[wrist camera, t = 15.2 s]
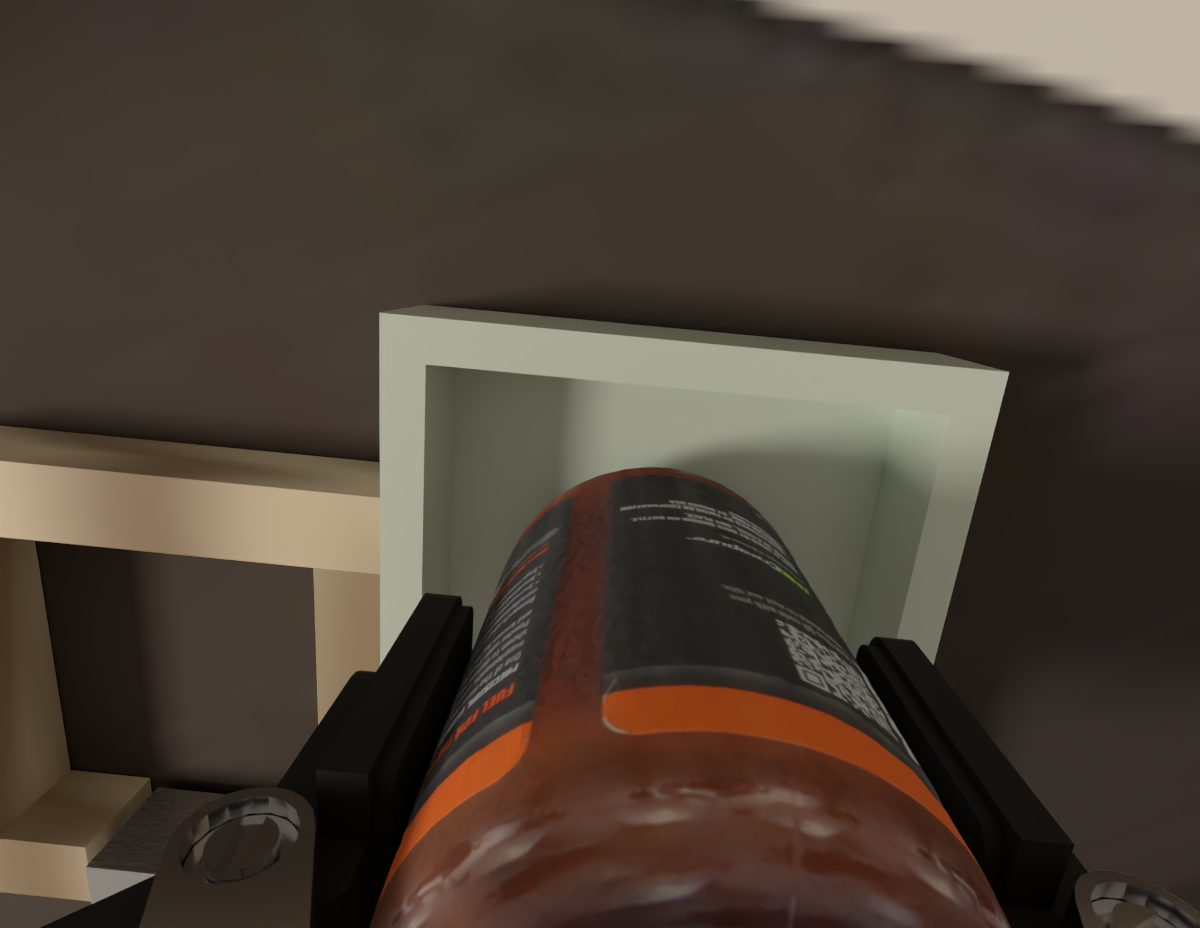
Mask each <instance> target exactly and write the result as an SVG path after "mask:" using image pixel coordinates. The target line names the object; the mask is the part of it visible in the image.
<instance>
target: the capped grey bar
mask: <svg viewBox="0 0 1200 928" xmlns="http://www.w3.org/2000/svg"><path fill="white" fill-rule="evenodd" d="M224 795H226V794H217V793H208V792H198V791H188V790H178V789H169V788H159V787H158V788H157V789H156V790H155V791H154V792H153V793H152V794H151V795H150V796H149V798H148V799H147V800H146V801H145V802H144V803H143V804H142V805H141V806H140V807H139V809H138V810H137V811H136V812H135V813H134V814H133V815H132V816H131V817H130V819H129V820H128V821H127V822H126V823H125V824H124V825H123V826H122V827H121V828H120V830H119V831H118V832H117V833H116V834H115V835H114V836H113V837H112V838H111V839H110V841H109V842H108V843H107V844H106V845H105V846H104V847H103V848H102V849H101V851H100V852H99V853H98V854H97V855H96V856H95V857H94V858H93V859H92V860H91V862H90V863H89V864H88V865H87V866H86V873H87V880H88V886H89V892H90V899H91V904H93V903H95V902H98V901H100V900H102V899H104V898H106V897H109V896H111V895H113V894H115V893H117V892H119V891H122V890H124V889H126V888H128V887H130V886H133V885H135V884H137V883H139V882H141V881H143V880H146V879H148V878H150V877H152V876H154V875H155V874H156V871H157V868H158V865H159V861H160V858H161V855H162V852H163V850H164V848H165V846H166V844H167V842H168V840H169V838H170V836H171V834H172V833H173V832H174V831H175V830H176V828H177V827H178V826H179V825H180V824H181V823H182V822H183V821H184V820H185V819H186V818H187V817H188V816H189V815H191V814H192V813H194V812H195V811H197V810H198V809H199V808H201V807H202V806H204V805H205V804H207V803H209V802H211V801H213V800H215V799H218V798H220V797H222V796H224Z"/></svg>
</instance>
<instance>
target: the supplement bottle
mask: <svg viewBox="0 0 1200 928" xmlns="http://www.w3.org/2000/svg"><path fill="white" fill-rule="evenodd" d="M369 928H1011V926H1010V924H1009V922H1008V920H1007V918H1006V917H1005V915H1004V913H1003V911H1002V909H1001V907H1000V905H999V903H998V901H997V899H996V896H995V894H994V892H993V890H992V888H991V886H990V884H989V882H988V881H987V879H986V877H985V875H984V873H983V871H982V869H981V868H980V866H979V864H978V863H977V861H976V860H975V858H974V856H973V855H972V853H971V851H970V850H969V848H968V847H967V845H966V843H965V842H964V840H963V839H962V837H961V835H960V834H959V832H958V830H957V829H956V827H955V825H954V824H953V822H952V820H951V818H950V817H949V815H948V813H947V812H946V810H945V809H944V808H943V806H942V803H941V801H940V799H939V797H938V795H937V793H936V791H935V789H934V787H933V786H932V784H931V782H930V781H929V779H928V778H927V776H926V774H925V773H924V771H923V769H922V768H921V766H920V765H919V763H918V762H917V760H916V758H915V757H914V755H913V753H912V752H911V750H910V748H909V747H908V745H907V744H906V742H905V740H904V738H903V737H902V735H901V734H900V732H899V731H898V729H897V727H896V725H895V724H894V722H893V720H892V719H891V717H890V715H889V713H888V712H887V710H886V708H885V707H884V705H883V704H882V702H881V701H880V699H879V697H878V696H877V694H876V693H875V691H874V690H873V688H872V686H871V684H870V682H869V680H868V678H867V677H866V675H865V674H864V673H863V672H862V670H861V668H860V666H859V665H858V663H857V661H856V659H855V657H854V656H853V654H852V653H851V651H850V650H849V648H848V647H847V645H846V643H845V642H844V640H843V639H842V637H841V636H840V635H839V633H838V631H837V630H836V628H835V626H834V624H833V622H832V620H831V618H830V617H829V615H828V614H827V612H826V610H825V608H824V606H823V605H822V603H821V602H820V600H819V599H818V598H817V596H816V594H815V592H814V591H813V590H812V588H811V586H810V585H809V582H808V581H807V579H806V578H805V576H804V574H803V573H802V571H801V570H800V568H799V566H798V565H797V563H796V561H795V559H794V558H793V556H792V554H791V553H790V551H789V549H788V548H787V547H786V545H785V544H784V543H783V541H782V540H781V538H780V537H779V535H778V533H777V532H776V530H775V529H774V528H773V526H772V525H771V524H770V523H769V522H768V521H767V520H766V519H765V518H764V517H763V516H762V515H761V513H760V512H759V511H758V510H757V509H756V508H754V507H753V506H752V505H751V504H750V503H748V502H747V501H746V500H745V499H744V498H742V497H741V496H739V495H738V494H736V493H735V492H734V491H732V490H730V489H728V488H727V487H725V486H723V485H722V484H719V483H717V482H715V481H712V480H709V479H707V478H705V477H702V476H700V475H697V474H695V473H691V472H684V471H681V470H678V469H671V468H660V467H643V468H632V469H624V470H620V471H615V472H611V473H607V474H603V475H600V476H597V477H595V478H592V479H590V480H587V481H585V482H582V483H580V484H578V485H576V486H574V487H572V488H570V489H568V490H567V491H565V492H563V493H562V494H561V495H559V496H558V497H556V498H555V499H553V500H552V501H551V502H550V503H549V504H548V505H547V506H546V507H545V508H544V509H543V510H541V511H540V513H539V514H538V515H537V516H536V517H535V518H534V519H533V521H532V522H531V523H530V524H529V525H528V527H527V528H526V529H525V531H524V532H523V534H522V535H521V537H520V538H519V540H518V541H517V543H516V545H515V547H514V549H513V551H512V553H511V555H510V557H509V559H508V561H507V563H506V565H505V567H504V570H503V572H502V575H501V577H500V579H499V582H498V585H497V587H496V590H495V592H494V595H493V598H492V600H491V602H490V605H489V609H488V612H487V615H486V617H485V620H484V622H483V625H482V627H481V630H480V633H479V635H478V638H477V640H476V643H475V645H474V648H473V650H472V653H471V656H470V659H469V660H468V662H467V665H466V668H465V671H464V675H463V677H462V680H461V682H460V685H459V688H458V691H457V694H456V696H455V698H454V701H453V704H452V706H451V709H450V712H449V714H448V717H447V719H446V722H445V725H444V728H443V730H442V733H441V735H440V738H439V740H438V743H437V746H436V748H435V751H434V753H433V756H432V759H431V762H430V764H429V766H428V769H427V772H426V774H425V777H424V780H423V783H422V787H421V789H420V791H419V794H418V796H417V797H416V799H415V801H414V805H413V809H412V812H411V815H410V818H409V821H408V824H407V827H406V830H405V832H404V835H403V838H402V841H401V844H400V846H399V849H398V851H397V853H396V855H395V858H394V860H393V863H392V865H391V868H390V871H389V874H388V876H387V879H386V882H385V884H384V887H383V890H382V893H381V896H380V898H379V901H378V904H377V907H376V910H375V913H374V915H373V918H372V921H371V924H370V927H369Z"/></svg>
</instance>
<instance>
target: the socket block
mask: <svg viewBox="0 0 1200 928" xmlns="http://www.w3.org/2000/svg"><path fill="white" fill-rule="evenodd" d="M35 541H45V542H55V543H66V544H76V545H86V546H96V547H106V548H116V549H127V550H137V551H147V552H157V553H167V554H177V555H188V556H198V557H208V558H218V559H228V560H238V561H249V562H259V563H269V564H279V565H289V566H299V567H310V568H313V572H314V604H315V635H316V666H317V698H318V725H319V723H320V722H321V720H322V719H323V717H324V716H325V714H326V713H327V711H328V710H329V708H330V707H331V705H332V704H333V702H334V701H335V700H336V698H337V697H338V695H339V694H340V692H341V691H342V689H343V688H344V686H345V685H346V683H347V682H348V680H349V679H350V677H351V676H352V675H353V674H354V673H355V672H356V671H359V670H362V671H372V672H376V671H377V670H378V668H379V666H380V462H372V461H362V460H351V459H341V458H331V457H320V456H310V455H300V454H289V453H279V452H268V451H258V450H248V449H237V448H227V447H217V446H206V445H196V444H186V443H175V442H165V441H155V440H144V439H134V438H123V437H113V436H103V435H92V434H82V433H72V432H61V431H51V430H41V429H30V428H20V427H10V426H0V892H6V893H15V894H25V895H34V896H44V897H54V898H63V899H73V900H83V901H91V899H90V892H89V886H88V880H87V873H86V866H87V865H88V864H89V863H90V862H91V860H92V859H93V858H94V857H95V856H96V855H97V854H98V853H99V852H100V851H101V849H102V848H103V847H104V846H105V845H106V844H107V843H108V842H109V841H110V839H111V838H112V837H113V836H114V835H115V834H116V833H117V832H118V831H119V830H120V828H121V827H122V826H123V825H124V824H125V823H126V822H127V821H128V820H129V819H130V817H131V816H132V815H133V814H134V813H135V812H136V811H137V810H138V809H139V807H140V806H141V805H142V804H143V803H144V802H145V801H146V800H147V799H148V798H149V796H150V795H151V794H152V789H151V780H150V778H145V777H135V776H125V775H115V774H106V773H96V772H86V771H76V770H71V769H70V762H69V756H68V749H67V743H66V737H65V730H64V724H63V717H62V711H61V704H60V698H59V692H58V685H57V679H56V672H55V666H54V659H53V653H52V646H51V640H50V634H49V627H48V621H47V614H46V608H45V601H44V595H43V589H42V582H41V576H40V569H39V563H38V556H37V550H36V544H35Z"/></svg>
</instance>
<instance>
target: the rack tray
mask: <svg viewBox="0 0 1200 928" xmlns="http://www.w3.org/2000/svg"><path fill="white" fill-rule="evenodd" d="M1008 376H1009V372H1007V371H1004V370H1000V369H996V368H992V367H989V366H985V365H981V364H977V363H973V362H970V361H966V360H962V359H958V358H955V357H951V356H947V355H943V354H940V353H932V352H922V351H911V350H900V349H890V348H879V347H869V346H858V345H847V344H837V343H826V342H815V341H805V340H794V339H783V338H773V337H762V336H751V335H741V334H730V333H720V332H709V331H698V330H688V329H677V328H666V327H656V326H645V325H634V324H624V323H613V322H602V321H592V320H581V319H571V318H560V317H549V316H539V315H528V314H517V313H507V312H496V311H485V310H475V309H464V308H453V307H443V306H432V305H422V306H416V307H410V308H404V309H398V310H392V311H387V312H381V313H380V665H381V663H382V662H383V660H384V658H385V657H386V655H387V653H388V652H389V650H390V649H391V647H392V645H393V644H394V642H395V641H396V639H397V637H398V636H399V634H400V632H401V631H402V629H403V628H404V626H405V624H406V623H407V621H408V619H409V618H410V616H411V615H412V613H413V611H414V610H415V608H416V607H417V605H418V603H419V602H420V600H421V598H422V597H423V595H424V594H425V593H433V594H443V595H453V596H461V598H462V606H472V607H473V612H474V617H473V641H472V650H473V648H474V645H475V643H476V640H477V638H478V635H479V633H480V630H481V627H482V625H483V622H484V620H485V617H486V615H487V612H488V609H489V605H490V602H491V600H492V598H493V595H494V592H495V590H496V587H497V585H498V582H499V579H500V577H501V575H502V572H503V570H504V567H505V565H506V563H507V561H508V559H509V557H510V555H511V553H512V551H513V549H514V547H515V545H516V543H517V541H518V540H519V538H520V537H521V535H522V534H523V532H524V531H525V529H526V528H527V527H528V525H529V524H530V523H531V522H532V521H533V519H534V518H535V517H536V516H537V515H538V514H539V513H540V511H541V510H543V509H544V508H545V507H546V506H547V505H548V504H549V503H550V502H551V501H552V500H553V499H555V498H556V497H558V496H559V495H561V494H562V493H563V492H565V491H567V490H568V489H570V488H572V487H574V486H576V485H578V484H580V483H582V482H585V481H587V480H590V479H592V478H595V477H597V476H600V475H603V474H607V473H611V472H615V471H620V470H624V469H632V468H643V467H660V468H671V469H678V470H681V471H684V472H691V473H695V474H697V475H700V476H702V477H705V478H707V479H709V480H712V481H715V482H717V483H719V484H722V485H723V486H725V487H727V488H728V489H730V490H732V491H734V492H735V493H736V494H738V495H739V496H741V497H742V498H744V499H745V500H746V501H747V502H748V503H750V504H751V505H752V506H753V507H754V508H756V509H757V510H758V511H759V512H760V513H761V515H762V516H763V517H764V518H765V519H766V520H767V521H768V522H769V523H770V524H771V525H772V526H773V528H774V529H775V530H776V532H777V533H778V535H779V537H780V538H781V540H782V541H783V543H784V544H785V545H786V547H787V548H788V549H789V551H790V553H791V554H792V556H793V558H794V559H795V561H796V563H797V565H798V566H799V568H800V570H801V571H802V573H803V574H804V576H805V578H806V579H807V581H808V582H809V585H810V586H811V588H812V590H813V591H814V592H815V594H816V596H817V598H818V599H819V600H820V602H821V603H822V605H823V606H824V608H825V610H826V612H827V614H828V615H829V617H830V618H831V620H832V622H833V624H834V626H835V628H836V630H837V631H838V633H839V635H840V636H841V637H842V639H843V640H844V642H845V643H846V645H847V647H848V648H849V650H850V651H851V653H852V654H853V656H854V657H855V659H856V655H857V652H858V649H859V647H860V646H861V645H869V643H870V641H871V640H872V638H874V637H885V638H895V639H906V640H913V641H914V642H915V643H916V644H917V645H918V646H919V648H920V649H921V650H922V651H923V653H924V654H925V655H926V656H927V658H928V659H929V660H930V662H931V663H932V664H933V665H934V661H935V657H936V653H937V650H938V646H939V642H940V638H941V634H942V630H943V626H944V623H945V619H946V615H947V611H948V607H949V603H950V599H951V596H952V592H953V588H954V584H955V580H956V576H957V572H958V569H959V565H960V561H961V557H962V553H963V549H964V545H965V542H966V538H967V534H968V530H969V526H970V522H971V518H972V515H973V511H974V507H975V503H976V499H977V495H978V491H979V488H980V484H981V480H982V476H983V472H984V468H985V464H986V461H987V457H988V453H989V449H990V445H991V441H992V437H993V434H994V430H995V426H996V422H997V418H998V414H999V410H1000V407H1001V403H1002V399H1003V395H1004V391H1005V387H1006V383H1007V380H1008Z"/></svg>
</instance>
